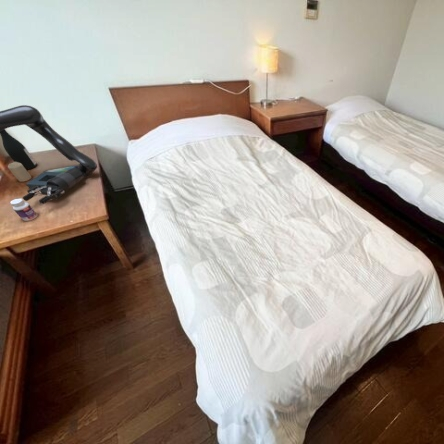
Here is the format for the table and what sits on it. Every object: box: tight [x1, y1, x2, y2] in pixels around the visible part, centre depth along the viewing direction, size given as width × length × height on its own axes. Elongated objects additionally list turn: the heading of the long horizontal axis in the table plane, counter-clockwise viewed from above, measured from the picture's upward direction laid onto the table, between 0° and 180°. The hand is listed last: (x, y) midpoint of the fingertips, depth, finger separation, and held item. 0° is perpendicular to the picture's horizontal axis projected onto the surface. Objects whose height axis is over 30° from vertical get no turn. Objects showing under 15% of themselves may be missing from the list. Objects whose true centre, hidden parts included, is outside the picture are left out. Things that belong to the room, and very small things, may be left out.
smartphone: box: [46, 165, 77, 172], centre depth 145 cm, size 7×1×15 cm
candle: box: [7, 161, 32, 183], centre depth 133 cm, size 6×6×10 cm
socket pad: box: [25, 170, 63, 190], centre depth 135 cm, size 13×13×3 cm
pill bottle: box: [10, 198, 38, 222], centre depth 113 cm, size 5×5×10 cm
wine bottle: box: [0, 129, 38, 171], centre depth 135 cm, size 8×8×30 cm
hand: (32, 200), depth 116 cm, fingers open, 8 cm apart
